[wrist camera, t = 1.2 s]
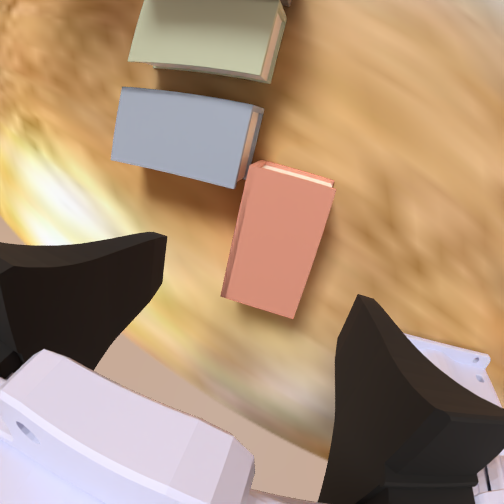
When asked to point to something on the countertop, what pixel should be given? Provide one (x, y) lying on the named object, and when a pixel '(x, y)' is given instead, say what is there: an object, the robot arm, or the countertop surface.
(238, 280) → the terracotta book
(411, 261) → the countertop surface
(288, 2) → the stone bookend
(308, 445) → the countertop surface
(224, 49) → the sage book
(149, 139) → the slate book
